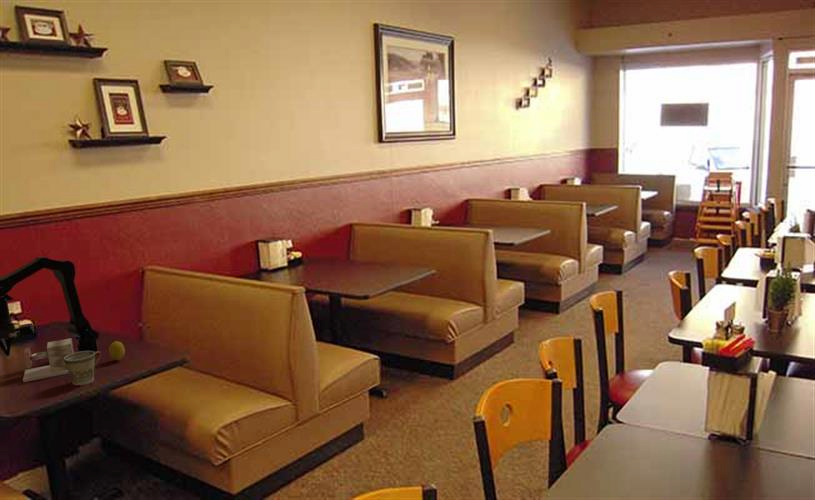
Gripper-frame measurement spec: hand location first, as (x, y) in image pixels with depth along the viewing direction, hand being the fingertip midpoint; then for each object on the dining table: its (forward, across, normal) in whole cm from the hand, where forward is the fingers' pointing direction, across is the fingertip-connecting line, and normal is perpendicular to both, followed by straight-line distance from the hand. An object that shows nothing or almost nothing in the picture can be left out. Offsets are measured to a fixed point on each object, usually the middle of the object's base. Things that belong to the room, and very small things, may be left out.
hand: (8, 355), depth 238 cm
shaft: (+5, +10, 0) cm, 11 cm away
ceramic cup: (+10, +25, -19) cm, 33 cm away
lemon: (+10, +36, -2) cm, 37 cm away
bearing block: (+9, +17, 0) cm, 19 cm away
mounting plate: (+9, +13, 0) cm, 16 cm away
